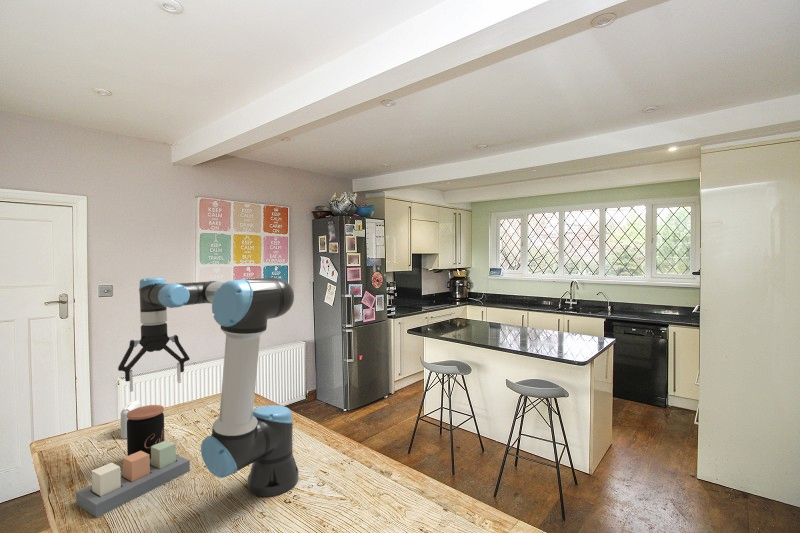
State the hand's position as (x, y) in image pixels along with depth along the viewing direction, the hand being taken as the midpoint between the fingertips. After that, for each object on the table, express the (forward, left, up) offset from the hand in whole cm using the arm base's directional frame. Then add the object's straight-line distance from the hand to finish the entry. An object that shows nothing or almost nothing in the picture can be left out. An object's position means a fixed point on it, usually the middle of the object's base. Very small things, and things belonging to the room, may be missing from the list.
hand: (156, 386), depth 129 cm
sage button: (-7, +2, -24) cm, 25 cm away
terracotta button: (-7, +10, -24) cm, 27 cm away
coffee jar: (+4, +1, -27) cm, 27 cm away
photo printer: (+33, -8, -27) cm, 44 cm away
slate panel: (-7, +10, -27) cm, 29 cm away
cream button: (-7, +18, -24) cm, 31 cm away
